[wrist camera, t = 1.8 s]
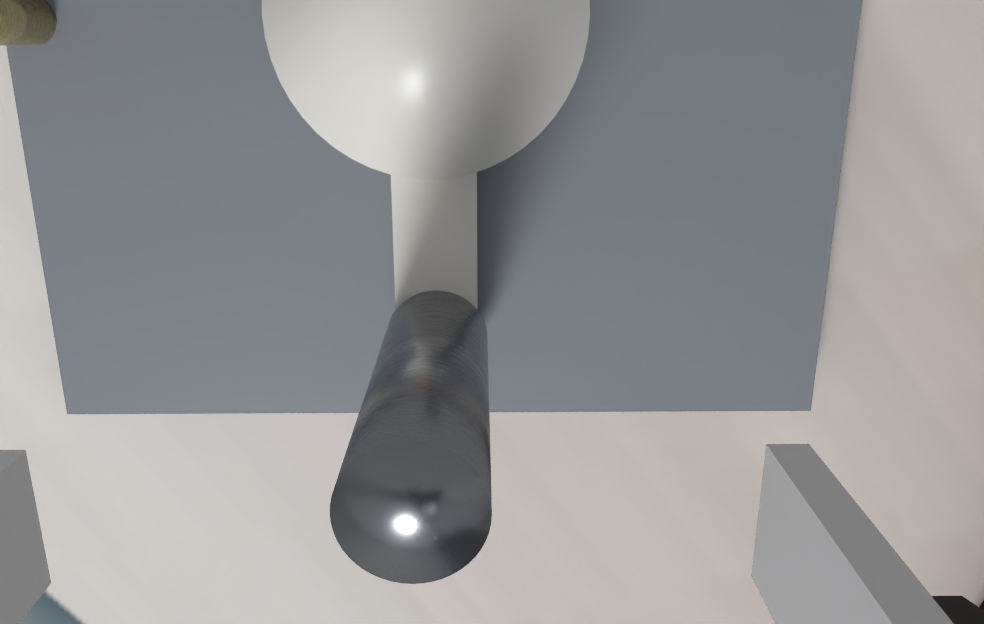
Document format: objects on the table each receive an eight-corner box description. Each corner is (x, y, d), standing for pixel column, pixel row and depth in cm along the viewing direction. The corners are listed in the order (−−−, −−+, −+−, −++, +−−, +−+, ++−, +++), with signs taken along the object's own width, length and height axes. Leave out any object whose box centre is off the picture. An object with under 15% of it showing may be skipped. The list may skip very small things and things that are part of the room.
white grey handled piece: (261, -370, 21) (37, -794, 10) (588, -368, 21) (697, -786, 10) (312, 372, 27) (203, 585, 16) (566, 370, 27) (621, 581, 16)
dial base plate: (794, 392, 29) (864, 469, 24) (87, 395, 29) (-1, 474, 23) (896, -475, 22) (1029, -642, 16) (-49, -483, 21) (-222, -655, 16)
